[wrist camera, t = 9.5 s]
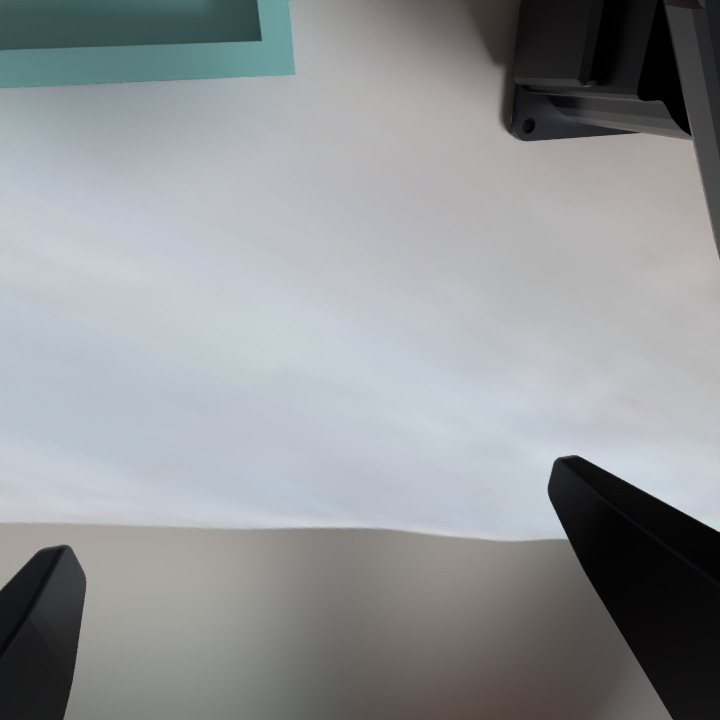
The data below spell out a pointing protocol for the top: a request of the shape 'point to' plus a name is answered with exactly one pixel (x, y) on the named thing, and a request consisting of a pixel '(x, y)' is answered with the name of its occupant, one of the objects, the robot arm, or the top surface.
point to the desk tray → (141, 40)
